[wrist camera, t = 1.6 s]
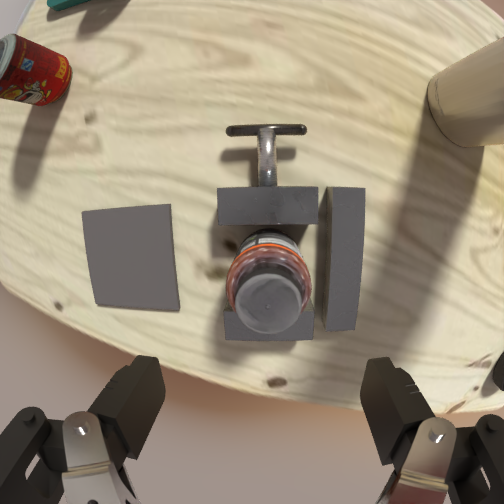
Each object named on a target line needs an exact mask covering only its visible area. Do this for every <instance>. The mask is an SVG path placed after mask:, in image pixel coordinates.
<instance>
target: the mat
mask: <svg viewBox="0 0 504 504" xmlns="http://www.w3.org/2000/svg"><path fill="white" fill-rule="evenodd" d="M82 221H83V231H84V239H85V247H86V254H87V261H88V267H89V273H90V278H91V283H92V288H93V293H94V298H95V303H96V304H102V305H112V306H124V307H136V308H150V309H167V310H179V309H180V301H179V293H178V284H177V275H176V265H175V255H174V244H173V231H172V216H171V204H162V205H147V206H134V207H122V208H111V209H101V210H91V211H83V212H82Z"/></svg>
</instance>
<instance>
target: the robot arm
mask: <svg viewBox="0 0 504 504" xmlns="http://www.w3.org/2000/svg"><path fill="white" fill-rule="evenodd" d="M428 102H429V107H430V110H431V113H432V116H433V118H434V120H435V122H436V124H437V125H438V127H439V128H440V130H441V131H442V132H443V133H444V135H445V136H446V137H447V138H448V139H450V140H451V141H452V142H453V143H455V144H457V145H459V146H462V147H475V146H486V145H498V144H504V37H502V38H500V39H498V40H497V41H495V42H493V43H491V44H489V45H487V46H485V47H483V48H481V49H480V50H478V51H476V52H474V53H472V54H470V55H469V56H467V57H465V58H463V59H461V60H460V61H458V62H456V63H454V64H453V65H451V66H449V67H448V68H446V69H444V70H443V71H441V72H439V73H438V74H436V75H434V76H433V78H432V79H431V80H430V83H429V85H428ZM164 399H165V384H164V380H163V377H162V372H161V368H160V364H159V360H158V358H156V357H150V356H142V355H138V356H137V357H136V358H135V359H134V361H133V362H132V364H131V365H130V366H127V365H126V366H124V367H123V368H122V369H120V370H118V371H117V372H116V373H115V374H114V376H113V377H112V378H111V379H110V382H108V383H107V385H106V386H105V388H104V389H103V390H102V392H101V393H100V394H99V396H98V397H97V398H96V400H95V401H94V402H93V404H92V405H91V406H90V408H89V409H88V411H87V412H85V411H80V412H75V413H73V414H71V415H69V416H68V417H67V418H66V419H65V420H64V421H61V420H52V419H47V417H46V416H45V414H44V412H43V411H42V410H41V409H40V408H37V407H27V408H24V409H22V410H21V411H19V412H18V413H17V415H16V416H15V417H14V418H13V419H12V421H11V422H10V423H9V425H8V426H7V427H6V428H5V429H4V431H3V432H2V434H1V435H0V504H58V503H59V501H60V499H61V497H62V495H63V493H64V492H65V496H66V501H67V504H141V503H140V501H139V499H138V496H137V494H136V492H135V489H134V487H133V485H132V482H131V480H130V478H129V475H128V473H127V470H126V468H125V465H124V464H123V463H124V461H125V459H126V457H128V458H132V459H136V460H137V459H138V457H139V454H140V452H141V450H142V448H143V445H144V443H145V441H146V439H147V437H148V435H149V432H150V430H151V428H152V426H153V423H154V422H155V419H156V417H157V415H158V413H159V411H160V408H161V406H162V404H163V402H164ZM360 399H361V404H362V407H363V410H364V413H365V415H366V418H367V421H368V424H369V427H370V430H371V433H372V436H373V438H374V441H375V445H376V447H377V451H378V454H379V457H380V460H381V463H382V465H387V464H392V463H393V465H394V468H395V469H394V471H393V472H392V474H391V476H390V478H389V480H388V482H387V484H386V486H385V487H384V489H383V491H382V493H381V494H380V496H379V498H378V500H377V501H376V503H375V504H443V503H444V500H445V497H446V494H447V491H448V494H449V497H450V500H451V503H452V504H504V420H503V419H502V418H501V417H499V416H497V415H493V414H488V415H484V416H483V417H481V418H480V419H479V420H478V422H477V424H476V425H475V426H474V427H462V428H455V426H454V425H453V424H452V423H451V422H450V421H448V420H446V419H444V418H439V417H435V415H434V413H433V412H432V410H431V408H430V406H429V405H428V403H427V402H426V400H425V398H424V397H423V395H422V393H421V392H419V388H418V387H417V385H415V382H414V381H413V379H412V377H411V376H410V374H408V373H407V372H406V371H404V370H403V369H401V368H395V367H394V365H393V363H392V362H391V360H390V359H389V357H382V358H374V359H369V360H368V362H367V366H366V370H365V374H364V378H363V382H362V386H361V391H360ZM36 454H37V455H38V457H39V458H40V459H39V461H38V463H37V464H36V466H35V467H34V469H33V471H32V472H31V474H30V476H29V477H28V479H27V480H26V477H25V472H26V469H27V468H28V466H29V464H30V463H31V461H32V460H33V458H34V457H35V455H36ZM481 467H483V469H484V471H485V474H486V476H487V478H488V480H489V482H490V490H489V487H488V485H487V483H486V480H485V478H484V476H483V474H482V472H481ZM444 482H445V483H444Z"/></svg>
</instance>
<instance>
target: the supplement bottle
mask: <svg viewBox="0 0 504 504" xmlns="http://www.w3.org/2000/svg"><path fill="white" fill-rule="evenodd" d="M311 287H312V284H311V278H310V274H309V271H308V269H307V266H306V264H305V262H304V259H303V257H302V255H301V253H300V251H299V248H298V247H297V245H296V243H295V242H294V241H293V240H292V238H291V237H290V236H288V235H287V234H286V233H284V232H282V231H279V230H276V229H262V230H259V231H256V232H254V233H253V234H251V235H249V236H248V237H247V238H246V239H245V240H244V241H243V243H242V244H241V246H240V248H239V250H238V252H237V254H236V257H235V259H234V261H233V263H232V265H231V267H230V269H229V272H228V275H227V280H226V294H227V298H228V301H229V303H230V305H231V307H232V308H233V310H234V311H235V313H236V314H237V316H238V318H239V319H240V321H241V322H242V323H243V324H244V325H245V326H246V327H247V328H249V329H250V330H252V331H254V332H256V333H260V334H266V335H269V334H278V333H280V332H283V331H285V330H287V329H289V328H290V327H291V326H292V325H293V324H294V323H295V322H296V321H297V319H298V318H299V315H300V314H301V313H302V312H303V310H304V309H305V307H306V306H307V304H308V302H309V299H310V296H311V290H312V288H311Z"/></svg>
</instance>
